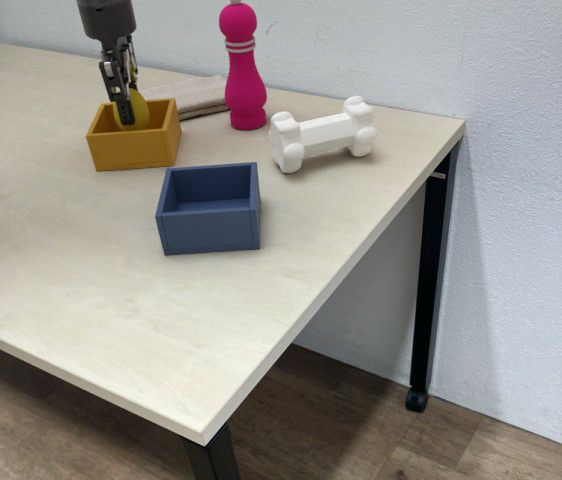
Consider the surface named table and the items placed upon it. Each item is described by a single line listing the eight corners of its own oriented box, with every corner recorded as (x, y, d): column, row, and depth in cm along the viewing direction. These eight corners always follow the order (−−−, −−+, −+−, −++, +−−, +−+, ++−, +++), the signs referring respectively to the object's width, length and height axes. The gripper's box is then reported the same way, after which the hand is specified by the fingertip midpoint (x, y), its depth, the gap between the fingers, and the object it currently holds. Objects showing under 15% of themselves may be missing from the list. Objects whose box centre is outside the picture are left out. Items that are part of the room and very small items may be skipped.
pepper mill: (253, 110, 110) (241, -18, 96) (277, 122, 106) (267, -10, 92) (220, 122, 108) (202, -7, 93) (242, 135, 103) (227, 1, 89)
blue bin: (164, 255, 80) (154, 216, 75) (174, 205, 88) (166, 168, 84) (260, 249, 79) (255, 209, 75) (260, 199, 88) (256, 161, 84)
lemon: (132, 147, 97) (119, 96, 92) (114, 138, 100) (100, 88, 95) (160, 136, 100) (150, 85, 94) (142, 126, 103) (130, 77, 97)
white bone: (355, 139, 99) (356, 87, 94) (378, 161, 94) (381, 108, 88) (268, 158, 97) (264, 107, 91) (287, 183, 91) (283, 129, 85)
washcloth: (246, 106, 112) (245, 89, 109) (152, 129, 107) (148, 111, 105) (225, 85, 119) (223, 69, 117) (136, 106, 115) (132, 89, 113)
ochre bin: (96, 171, 98) (85, 136, 93) (110, 137, 106) (100, 103, 102) (173, 165, 97) (166, 130, 93) (181, 131, 106) (175, 97, 102)
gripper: (87, -16, 91) (116, 100, 103) (64, 13, 81) (100, 137, 93) (136, -20, 90) (160, 96, 102) (120, 8, 80) (148, 134, 92)
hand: (131, 115), depth 98 cm, fingers closed on lemon, 5 cm apart
